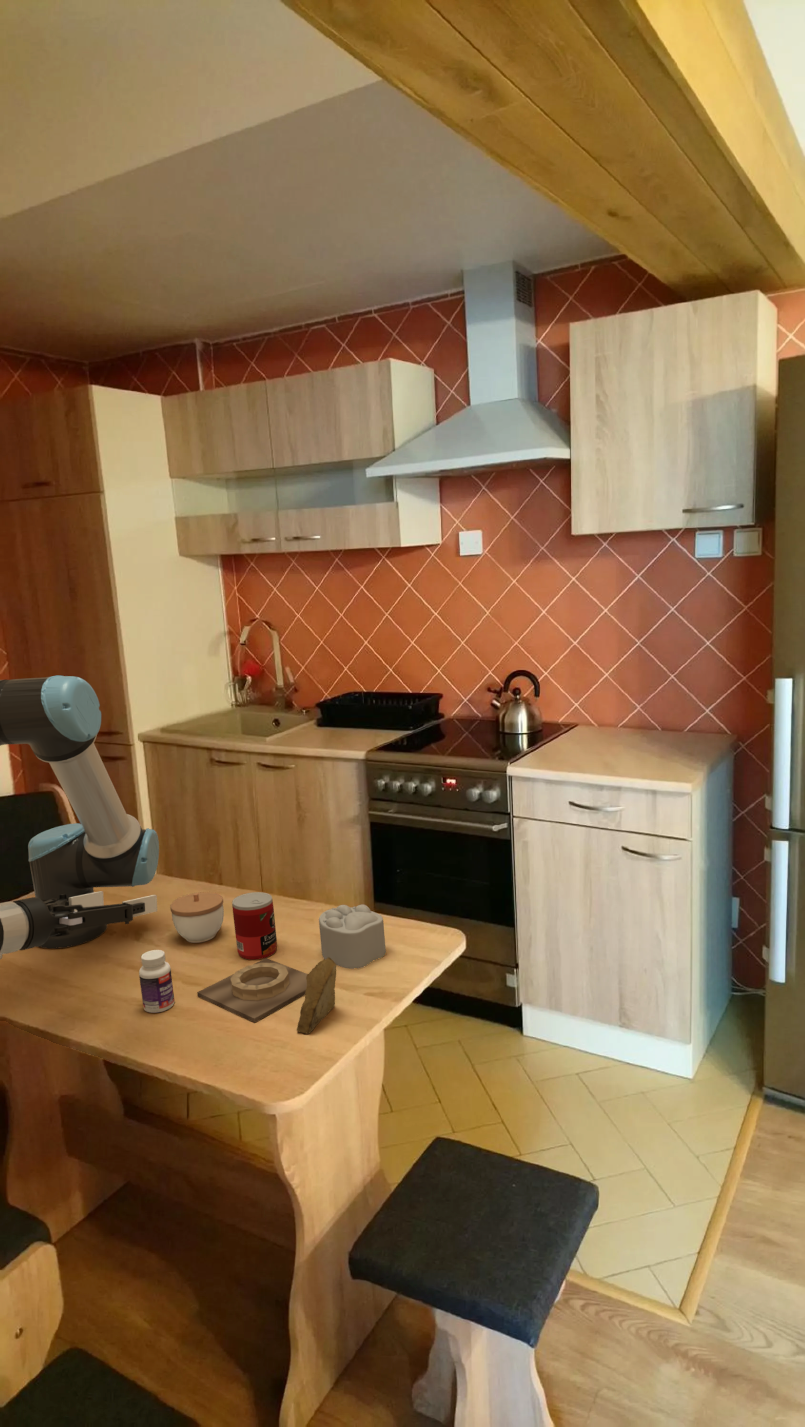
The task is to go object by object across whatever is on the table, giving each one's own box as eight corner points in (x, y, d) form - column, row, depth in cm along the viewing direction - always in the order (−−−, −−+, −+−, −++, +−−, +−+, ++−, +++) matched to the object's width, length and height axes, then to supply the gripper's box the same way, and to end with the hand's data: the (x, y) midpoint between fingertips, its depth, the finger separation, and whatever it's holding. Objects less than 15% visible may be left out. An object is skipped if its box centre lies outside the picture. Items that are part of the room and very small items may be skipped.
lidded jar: (209, 950, 178) (204, 906, 176) (164, 945, 181) (158, 902, 180) (236, 927, 188) (231, 885, 186) (192, 924, 191) (187, 882, 189)
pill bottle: (167, 1014, 153) (160, 961, 152) (138, 1013, 154) (131, 961, 153) (179, 998, 159) (173, 947, 157) (151, 998, 160) (145, 947, 158)
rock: (312, 1031, 140) (359, 998, 147) (284, 983, 142) (331, 953, 148) (288, 1046, 148) (333, 1015, 155) (262, 1001, 150) (307, 972, 156)
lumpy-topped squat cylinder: (353, 972, 164) (349, 928, 162) (308, 953, 173) (304, 912, 171) (393, 952, 171) (389, 909, 170) (348, 935, 180) (344, 894, 179)
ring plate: (197, 996, 159) (195, 981, 158) (266, 961, 171) (264, 948, 170) (254, 1022, 148) (253, 1007, 148) (323, 984, 160) (322, 969, 160)
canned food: (270, 961, 171) (264, 907, 169) (231, 960, 173) (225, 906, 171) (283, 943, 178) (278, 892, 176) (245, 942, 180) (240, 891, 178)
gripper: (-32, 944, 140) (82, 918, 158) (68, 958, 127) (180, 927, 145) (-33, 897, 141) (80, 876, 159) (66, 905, 127) (178, 881, 145)
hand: (128, 900), depth 152 cm, fingers open, 13 cm apart
